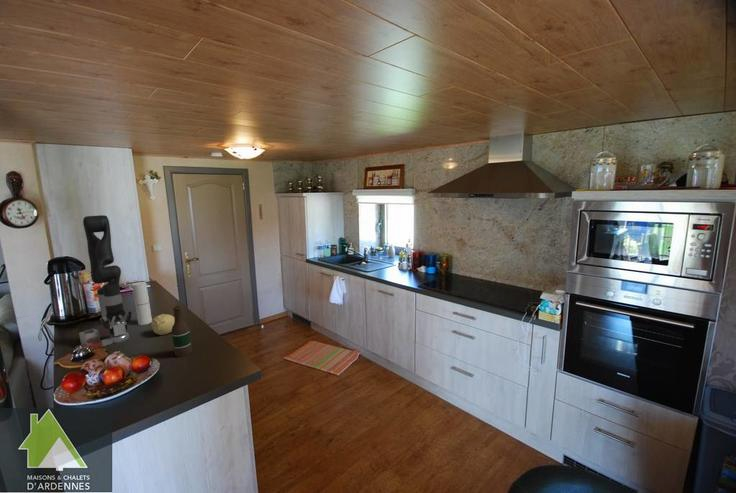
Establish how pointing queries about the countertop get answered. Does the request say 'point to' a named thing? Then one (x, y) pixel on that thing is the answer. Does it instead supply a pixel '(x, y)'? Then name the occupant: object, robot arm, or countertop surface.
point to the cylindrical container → (142, 303)
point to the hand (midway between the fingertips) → (118, 332)
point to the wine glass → (107, 341)
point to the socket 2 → (118, 328)
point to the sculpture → (163, 324)
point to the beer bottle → (180, 334)
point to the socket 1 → (89, 336)
